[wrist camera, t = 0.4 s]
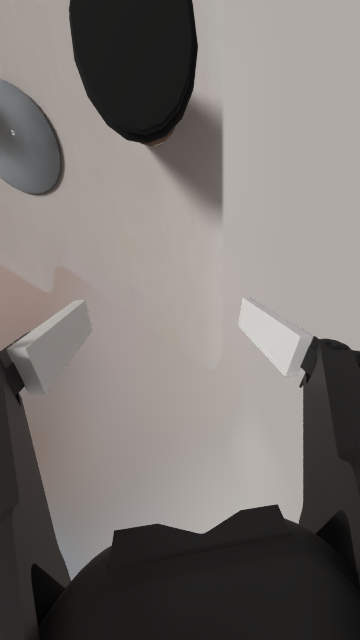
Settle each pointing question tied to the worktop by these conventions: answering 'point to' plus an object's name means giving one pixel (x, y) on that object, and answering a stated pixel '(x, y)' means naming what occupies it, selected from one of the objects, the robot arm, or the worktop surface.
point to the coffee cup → (136, 62)
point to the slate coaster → (26, 143)
